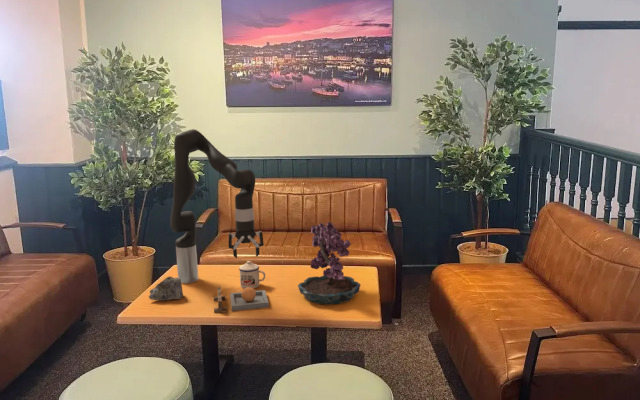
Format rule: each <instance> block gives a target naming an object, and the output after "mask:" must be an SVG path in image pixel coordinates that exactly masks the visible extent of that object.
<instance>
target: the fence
mask: <svg viewBox="0 0 640 400" xmlns="http://www.w3.org/2000/svg"><path fill="white" fill-rule="evenodd" d="M216 289H217V296H213V301H214V302H217V307H214V308H213V313H214V314H215V313H221V312H222V313H227V311H228V308H227V306H223V302H222V301H227V298H226V295H222V288H221V287H219V286H218V287H216Z"/></svg>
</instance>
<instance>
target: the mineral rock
mask: <svg viewBox="0 0 640 400" xmlns="http://www.w3.org/2000/svg"><path fill="white" fill-rule="evenodd" d="M182 285H183V283H181V280H180V278H178V277H172V276H167V277H166V278H164V279H163V280H162V281H160V282H159V283H157V284H156V285H155V286H154V288H152V289H150V290H149V293H150V294H149V296H148V299H149V300H151V301H168V300H180V299H183V297H184V293H183V292H184V291H183V286H182Z"/></svg>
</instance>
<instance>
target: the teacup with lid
mask: <svg viewBox="0 0 640 400" xmlns="http://www.w3.org/2000/svg"><path fill="white" fill-rule="evenodd" d="M238 267H239V268H238V270H239V283H240V288H242V289H245V288H247V287H251V288H253V289H256V288H258V287H259V286H260V282H264V280H265V279H266V272H265V271H263V270H259V269H260V266H259V265H258V264H256V263H254V262H252V261H251V260H247V261H246V263H244V264H242V265H240V266H238ZM260 273H261V274H262V275H263V277H262V279H260Z"/></svg>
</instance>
